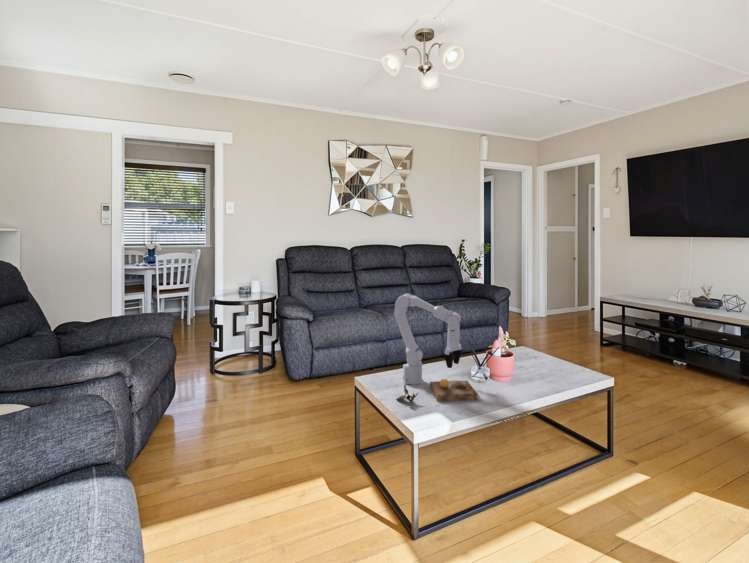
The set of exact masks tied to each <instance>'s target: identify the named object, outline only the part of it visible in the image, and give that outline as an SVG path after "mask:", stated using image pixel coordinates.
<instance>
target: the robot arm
mask: <svg viewBox="0 0 749 563" xmlns="http://www.w3.org/2000/svg"><path fill="white" fill-rule="evenodd" d="M409 307H410V308H413V307H418V308H421V309H423V310H425V311H428V312H429V313H431V314H432V316H433V317H434V318H437V319H439V320H441V321H443V322H445V323H446V324H447V337H446V338H447V341H446V342H447V345H446V347H445V350H444V352H442V356H443V357H444V361H445V363H446V367H447V368H449V369H452V368H453V364H455V365H459V363H460V359H461V356H462V354H463V352H464V349H463V348H462V343H460V337H461V335H460V334H461V333H460V332H461V329H460V327H461V326H460V322H461V319H462V318H461V315H460V313H458V312H457V311H453V310H449V309H446V308H445V307H444V305H433V304H431V303H429V302H427V301H425V300H423V299H421V298H420V297H419V296H416V295H413V294H411V293H408V292H407V293H404V294H403V295H399V297H397V299H396V301H395V303H394V310H393V311H394V312H393V315H394V317H395V318H394V319H395V322H396V324H397V326H398V328H399V331H400V332H399V333H400V335H401V338H402V340H403V343H404V345H405V354H406V363H404V364H403V365H402V372H403V373H402V380H403V383H404V385H417V384H418V385H420V384H421V385H423V384H425V382H424V380H423V362H422V359H423V356H424V353H423V351H422V350H421V349H420V348H419V345H418V344H417V343H416V340H415V338H414V335H413V332H412V330H411V327H410V324H409V321H408V319H407V316H406V313H407V311H408V309H409Z"/></svg>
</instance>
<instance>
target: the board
mask: <svg viewBox="0 0 749 563" xmlns="http://www.w3.org/2000/svg"><path fill="white" fill-rule="evenodd" d="M440 381H441V380H439V381H430V382H429V389H430V390H432V391H431V393H432V392H433V393H432V395H433V394H434V395H433V396H434V398H435V400H436V402H455V401H456V402H460V401H461V402H462V401H478V393H477V391H476V390H475V389H474V387H473V386H472V384H470V382H469V381H468V380H447V381H448V382H449V385H448V387H446V388H442V387H441V386H440Z"/></svg>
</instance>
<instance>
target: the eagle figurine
mask: <svg viewBox="0 0 749 563" xmlns="http://www.w3.org/2000/svg"><path fill="white" fill-rule="evenodd" d="M403 391H404V395H400V396H398V397H396V399H395V400H396V401H397V400H400V401H403V400H407V401H409V402H410V404H411V405H412V404H413V402H414V400H415V398H416V397H417V396H418V394H419V392H417V393H416V394H415V393H414V392H413V394H412V395H410V394H409V390H408V389H407V384H404V385H403Z"/></svg>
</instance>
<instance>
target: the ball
mask: <svg viewBox="0 0 749 563" xmlns="http://www.w3.org/2000/svg"><path fill="white" fill-rule="evenodd" d="M439 381H440V386H441V387H442V388H446V387H448V385H449V382H448V381H449V380H448V379H447V378H442V379H441V380H439Z"/></svg>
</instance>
